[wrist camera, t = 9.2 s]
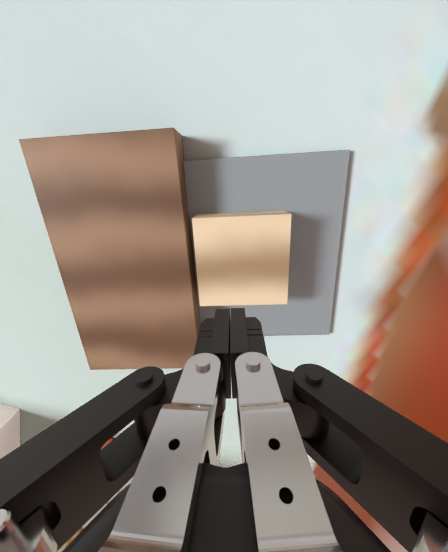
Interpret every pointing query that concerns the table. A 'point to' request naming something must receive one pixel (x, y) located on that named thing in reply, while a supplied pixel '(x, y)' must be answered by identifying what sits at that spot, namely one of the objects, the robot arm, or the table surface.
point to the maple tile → (242, 257)
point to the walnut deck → (121, 242)
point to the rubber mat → (304, 225)
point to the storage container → (9, 429)
